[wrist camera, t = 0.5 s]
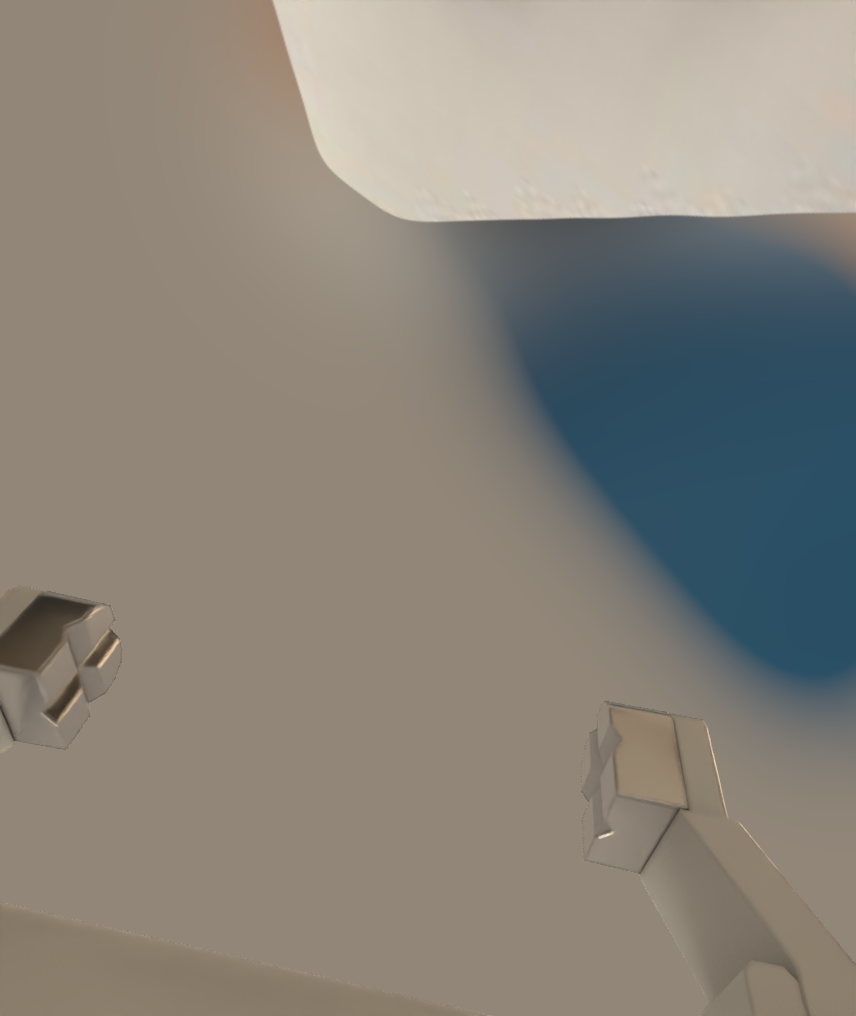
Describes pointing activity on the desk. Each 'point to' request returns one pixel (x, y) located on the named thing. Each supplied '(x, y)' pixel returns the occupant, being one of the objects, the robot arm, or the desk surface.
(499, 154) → the desk surface
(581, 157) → the desk surface
